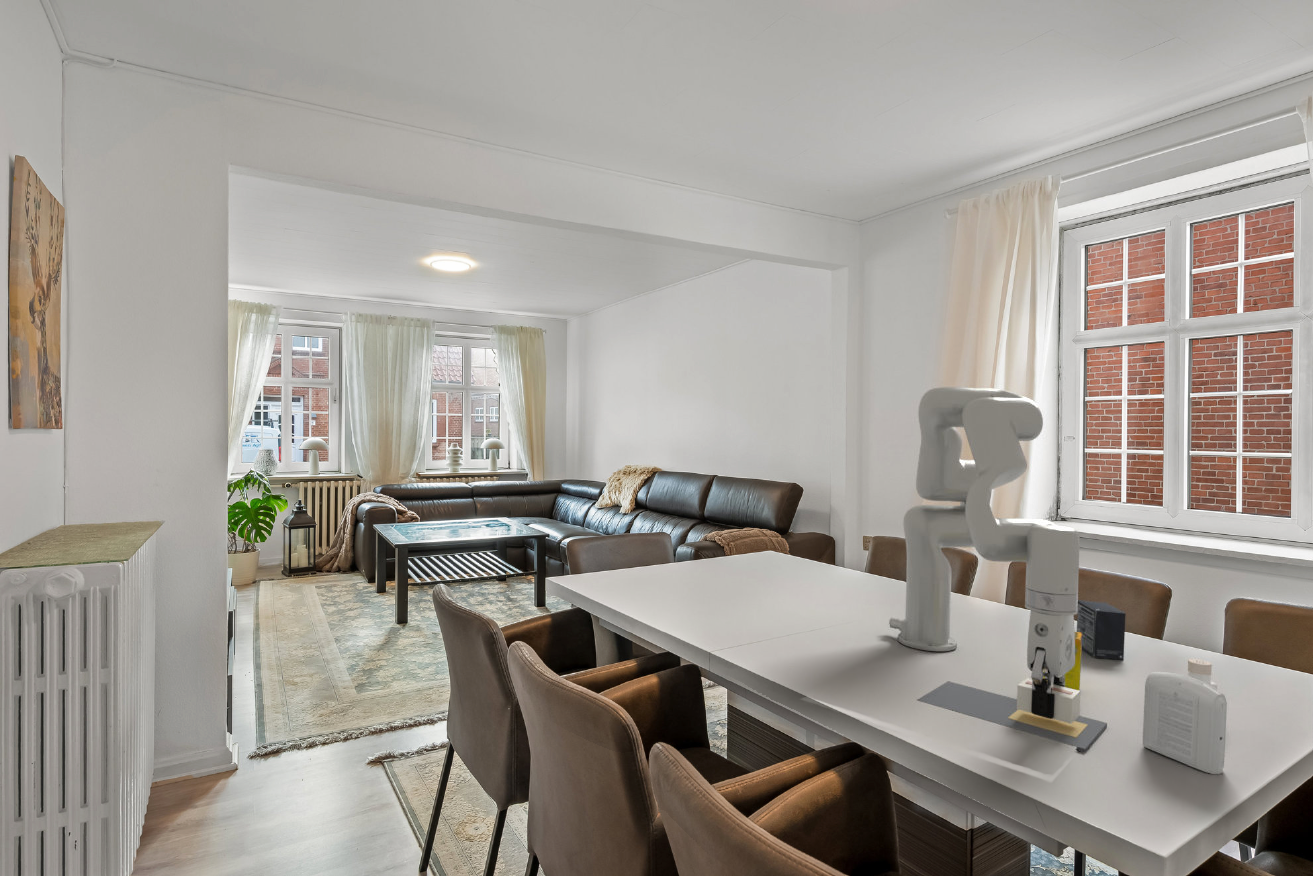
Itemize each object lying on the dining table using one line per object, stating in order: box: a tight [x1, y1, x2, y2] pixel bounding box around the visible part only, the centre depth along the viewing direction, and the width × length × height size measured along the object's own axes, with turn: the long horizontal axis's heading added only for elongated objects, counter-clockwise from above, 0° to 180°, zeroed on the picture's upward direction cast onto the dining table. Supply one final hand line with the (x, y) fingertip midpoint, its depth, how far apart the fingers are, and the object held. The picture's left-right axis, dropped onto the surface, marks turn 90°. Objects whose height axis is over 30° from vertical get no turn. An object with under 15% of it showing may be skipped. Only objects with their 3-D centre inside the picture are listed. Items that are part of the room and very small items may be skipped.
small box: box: [1076, 599, 1127, 661], centre depth 157 cm, size 11×6×10 cm, turn 168°
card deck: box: [1016, 677, 1081, 724], centre depth 115 cm, size 5×8×4 cm, turn 46°
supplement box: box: [1043, 631, 1083, 691], centre depth 132 cm, size 6×6×11 cm
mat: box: [916, 680, 1108, 754], centre depth 120 cm, size 26×14×1 cm, turn 46°
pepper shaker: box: [1187, 658, 1218, 690], centre depth 121 cm, size 4×4×10 cm
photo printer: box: [1142, 671, 1228, 775], centre depth 104 cm, size 10×4×12 cm, turn 24°
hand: (1047, 710), depth 116 cm, fingers closed on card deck, 4 cm apart
